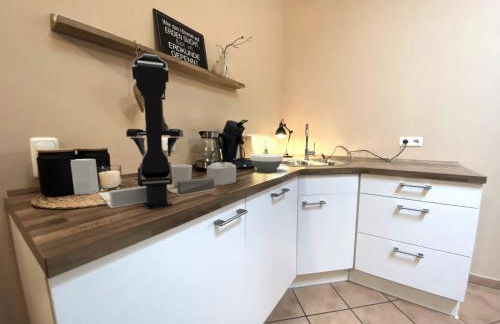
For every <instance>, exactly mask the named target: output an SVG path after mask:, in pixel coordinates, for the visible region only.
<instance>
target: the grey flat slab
mask: <svg viewBox="0 0 500 324" xmlns="http://www.w3.org/2000/svg"><path fill="white" fill-rule="evenodd" d="M98 195H99V197H100V198H101V199H102V198H103V199H104V200H106V199H109V198H110V202H107V203H106V205H107V206H108V207H109V208H110V209H115V208H120V207H126V206H130V205H131V206H132V205H136V204H143V202H147V199H146V186H142V187H140V186H134V187H127V188H121V189H120V188H119V189H113V190H109V191H106V192H98ZM103 199H102V200H103ZM104 200H103V201H104Z"/></svg>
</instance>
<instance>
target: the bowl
mask: <svg viewBox="0 0 500 324" xmlns="http://www.w3.org/2000/svg"><path fill="white" fill-rule="evenodd" d="M249 159H250V161H251V163H252V165H253V167H254V168H256V171H257V172H259V173H265V174H266V173H275V172H276V171H277V169H279V168H280V165H281V164H282V162H283V160H284V155H283V154H279V153H253V154H249Z"/></svg>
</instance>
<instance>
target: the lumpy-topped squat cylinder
mask: <svg viewBox="0 0 500 324" xmlns="http://www.w3.org/2000/svg"><path fill="white" fill-rule="evenodd" d="M208 177H210V178H214V186H224V185H231V184H234V183H237V166H236V164H234V163H232V162H227V161H225V162H224V161H223V162H219V161H217V162H214V163H211V164H210V165H208V166H206V178H208Z"/></svg>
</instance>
